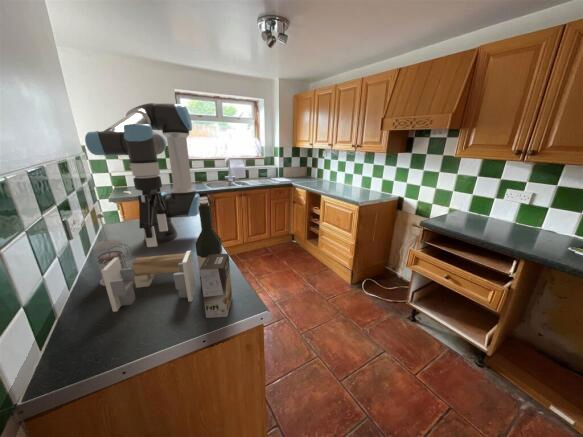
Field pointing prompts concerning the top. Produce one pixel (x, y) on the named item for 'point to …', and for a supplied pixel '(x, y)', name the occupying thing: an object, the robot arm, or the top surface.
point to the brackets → (123, 280)
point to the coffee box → (216, 285)
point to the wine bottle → (206, 237)
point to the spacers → (144, 280)
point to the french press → (111, 254)
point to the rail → (157, 264)
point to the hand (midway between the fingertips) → (158, 238)
